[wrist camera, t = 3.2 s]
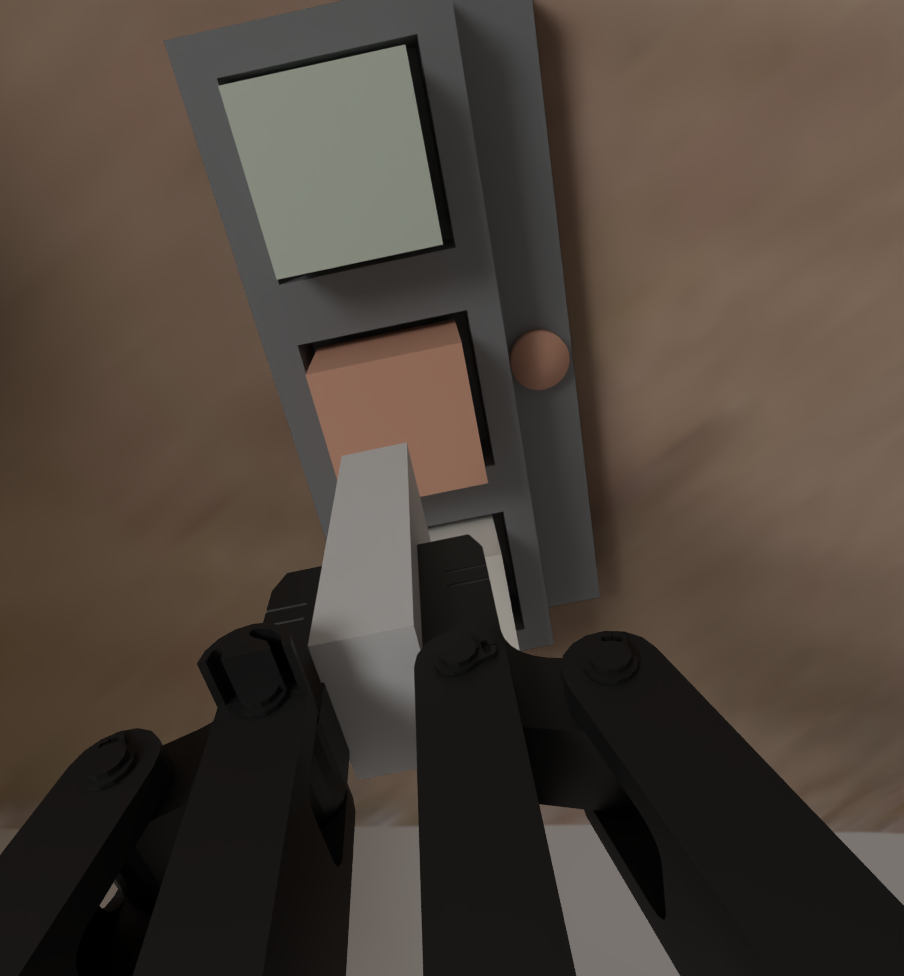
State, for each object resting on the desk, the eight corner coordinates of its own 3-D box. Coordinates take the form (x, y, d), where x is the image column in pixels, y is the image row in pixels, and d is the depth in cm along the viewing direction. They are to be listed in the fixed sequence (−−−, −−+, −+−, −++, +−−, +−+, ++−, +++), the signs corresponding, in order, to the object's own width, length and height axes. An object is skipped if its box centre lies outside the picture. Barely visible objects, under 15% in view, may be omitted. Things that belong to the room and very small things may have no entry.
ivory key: (490, 509, 24) (501, 554, 22) (509, 606, 26) (521, 658, 24) (371, 533, 24) (367, 580, 22) (398, 628, 26) (398, 682, 24)
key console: (521, -11, 20) (545, -45, 16) (590, 576, 29) (615, 632, 26) (204, 59, 20) (163, 40, 17) (375, 619, 30) (371, 679, 26)
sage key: (405, 60, 18) (405, 44, 15) (437, 232, 20) (443, 244, 17) (245, 95, 18) (217, 86, 15) (293, 262, 20) (276, 279, 17)
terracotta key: (454, 318, 21) (461, 342, 18) (478, 444, 23) (487, 483, 20) (317, 346, 21) (305, 375, 19) (353, 470, 23) (346, 511, 21)
